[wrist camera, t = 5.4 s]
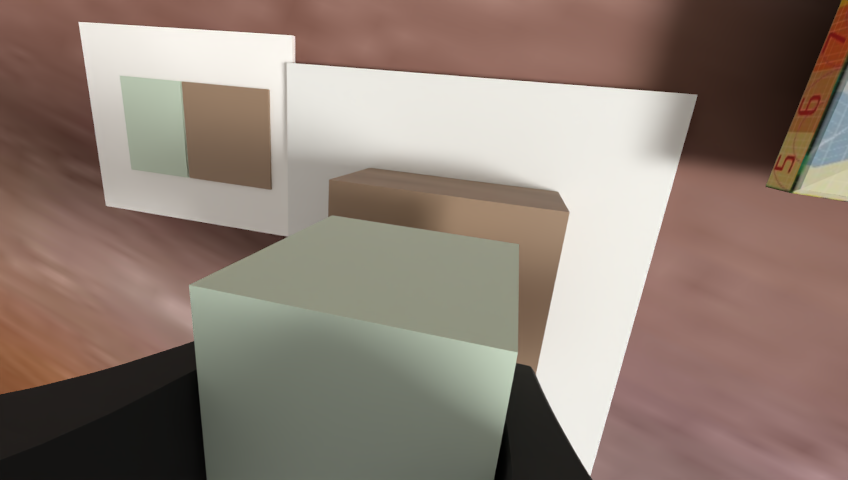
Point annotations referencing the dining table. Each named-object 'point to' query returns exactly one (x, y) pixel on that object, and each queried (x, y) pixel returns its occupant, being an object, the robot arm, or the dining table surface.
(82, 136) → the dining table surface
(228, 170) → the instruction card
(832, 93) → the puzzle game
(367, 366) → the sage brick
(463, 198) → the walnut brick
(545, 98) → the plate
